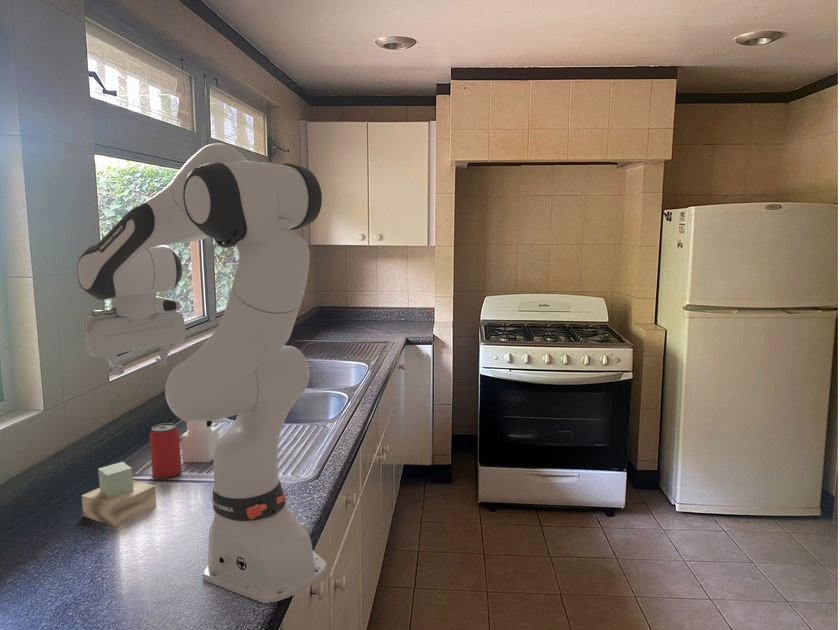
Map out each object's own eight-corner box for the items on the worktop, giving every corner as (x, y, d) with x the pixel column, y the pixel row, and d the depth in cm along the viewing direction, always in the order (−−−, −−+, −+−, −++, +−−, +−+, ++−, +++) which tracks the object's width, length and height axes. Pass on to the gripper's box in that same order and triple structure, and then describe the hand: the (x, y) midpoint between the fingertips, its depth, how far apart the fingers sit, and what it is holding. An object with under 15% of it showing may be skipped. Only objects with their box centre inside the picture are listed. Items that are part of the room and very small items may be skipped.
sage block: (133, 490, 130) (131, 468, 129) (108, 498, 126) (106, 475, 126) (124, 483, 133) (122, 461, 133) (100, 490, 130) (98, 468, 129)
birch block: (156, 507, 133) (154, 485, 132) (115, 528, 124) (113, 505, 123) (125, 498, 137) (123, 477, 137) (83, 517, 129) (81, 495, 128)
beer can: (172, 466, 154) (169, 420, 152) (186, 473, 150) (183, 426, 148) (147, 474, 149) (143, 427, 147) (161, 482, 145) (157, 433, 143)
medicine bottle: (193, 451, 163) (190, 408, 161) (219, 452, 163) (217, 408, 161) (182, 462, 156) (179, 417, 154) (210, 462, 156) (207, 417, 154)
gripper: (90, 313, 119) (97, 382, 121) (187, 301, 134) (191, 363, 137) (76, 310, 123) (82, 377, 125) (172, 299, 138) (176, 359, 140)
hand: (140, 369), depth 131 cm, fingers open, 8 cm apart
